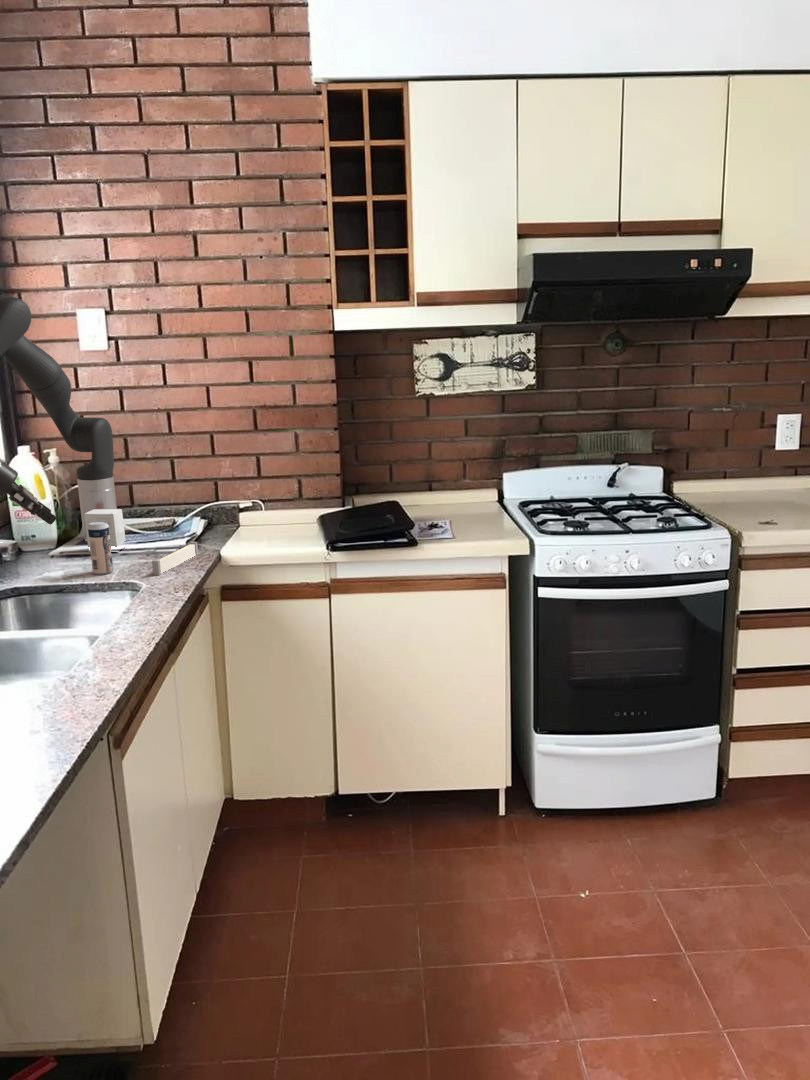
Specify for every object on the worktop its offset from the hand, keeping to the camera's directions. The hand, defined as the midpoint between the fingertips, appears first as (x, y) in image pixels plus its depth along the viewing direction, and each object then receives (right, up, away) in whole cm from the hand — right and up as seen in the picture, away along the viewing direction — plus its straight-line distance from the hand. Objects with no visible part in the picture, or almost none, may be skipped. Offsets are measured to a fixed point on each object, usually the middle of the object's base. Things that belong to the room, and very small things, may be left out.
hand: (51, 517), depth 193 cm
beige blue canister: (+9, -13, +8) cm, 18 cm away
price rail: (+25, -11, +14) cm, 30 cm away
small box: (+3, -8, +28) cm, 30 cm away
